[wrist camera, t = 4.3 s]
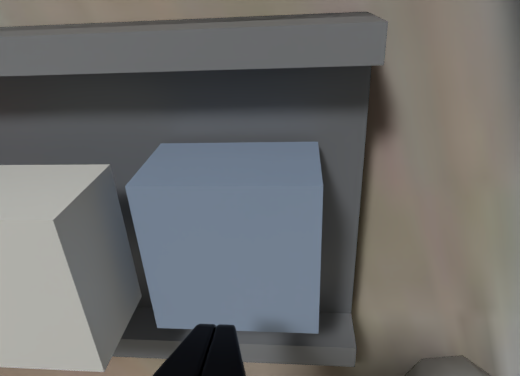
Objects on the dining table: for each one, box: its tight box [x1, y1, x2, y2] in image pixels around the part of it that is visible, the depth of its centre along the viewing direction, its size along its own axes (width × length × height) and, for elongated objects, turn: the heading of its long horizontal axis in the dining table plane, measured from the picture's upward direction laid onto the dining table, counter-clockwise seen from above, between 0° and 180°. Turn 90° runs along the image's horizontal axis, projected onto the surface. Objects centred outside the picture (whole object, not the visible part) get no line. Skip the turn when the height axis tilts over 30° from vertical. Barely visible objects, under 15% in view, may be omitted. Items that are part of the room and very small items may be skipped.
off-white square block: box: [0, 164, 142, 372], centre depth 11 cm, size 5×5×3 cm
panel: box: [0, 12, 388, 367], centre depth 14 cm, size 20×12×3 cm, turn 93°
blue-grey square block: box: [125, 142, 323, 334], centre depth 12 cm, size 5×5×3 cm
